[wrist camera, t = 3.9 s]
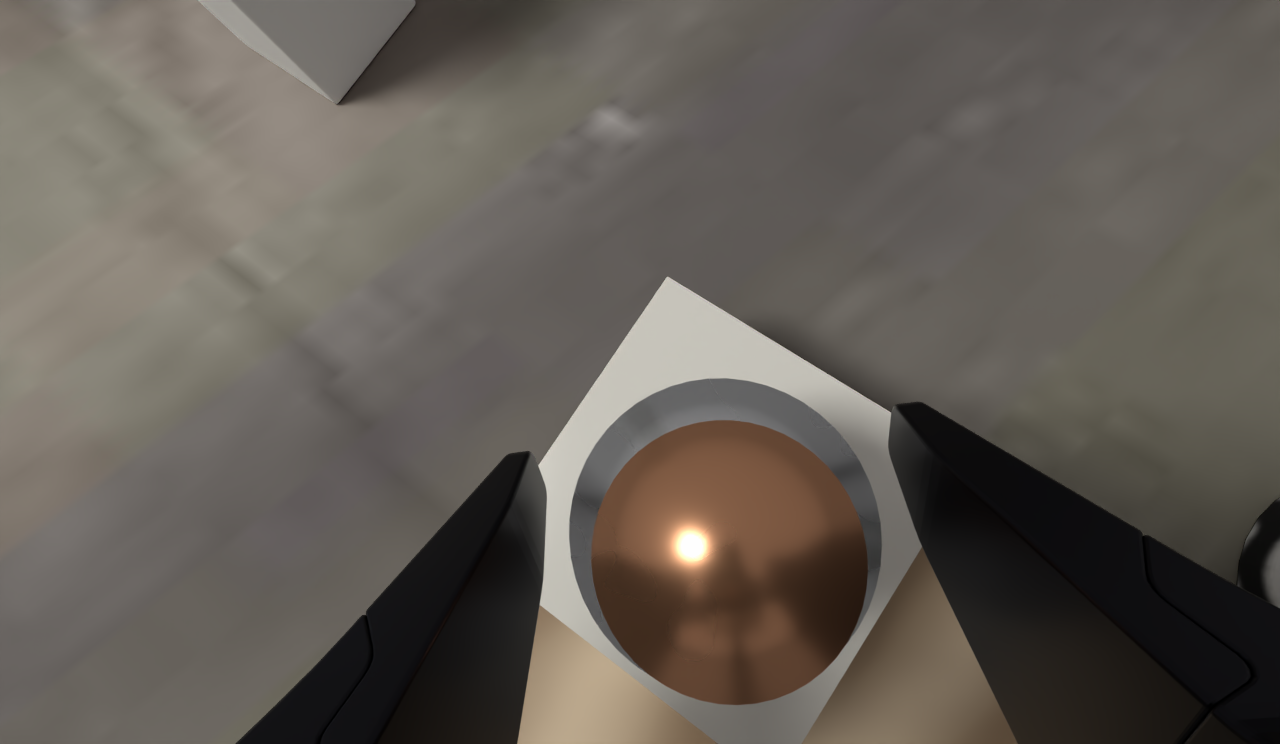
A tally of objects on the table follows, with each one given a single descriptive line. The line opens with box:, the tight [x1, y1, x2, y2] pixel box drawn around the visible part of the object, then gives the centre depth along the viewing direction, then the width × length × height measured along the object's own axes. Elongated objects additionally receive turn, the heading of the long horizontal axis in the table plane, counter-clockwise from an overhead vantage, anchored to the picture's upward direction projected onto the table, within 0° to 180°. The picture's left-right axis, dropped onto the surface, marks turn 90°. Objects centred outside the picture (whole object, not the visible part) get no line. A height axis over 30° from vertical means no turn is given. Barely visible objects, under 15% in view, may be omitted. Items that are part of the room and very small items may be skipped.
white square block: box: [539, 277, 922, 744], centre depth 17 cm, size 9×9×6 cm
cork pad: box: [517, 548, 1017, 744], centre depth 19 cm, size 19×19×1 cm
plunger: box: [569, 378, 882, 705], centre depth 11 cm, size 5×5×9 cm
